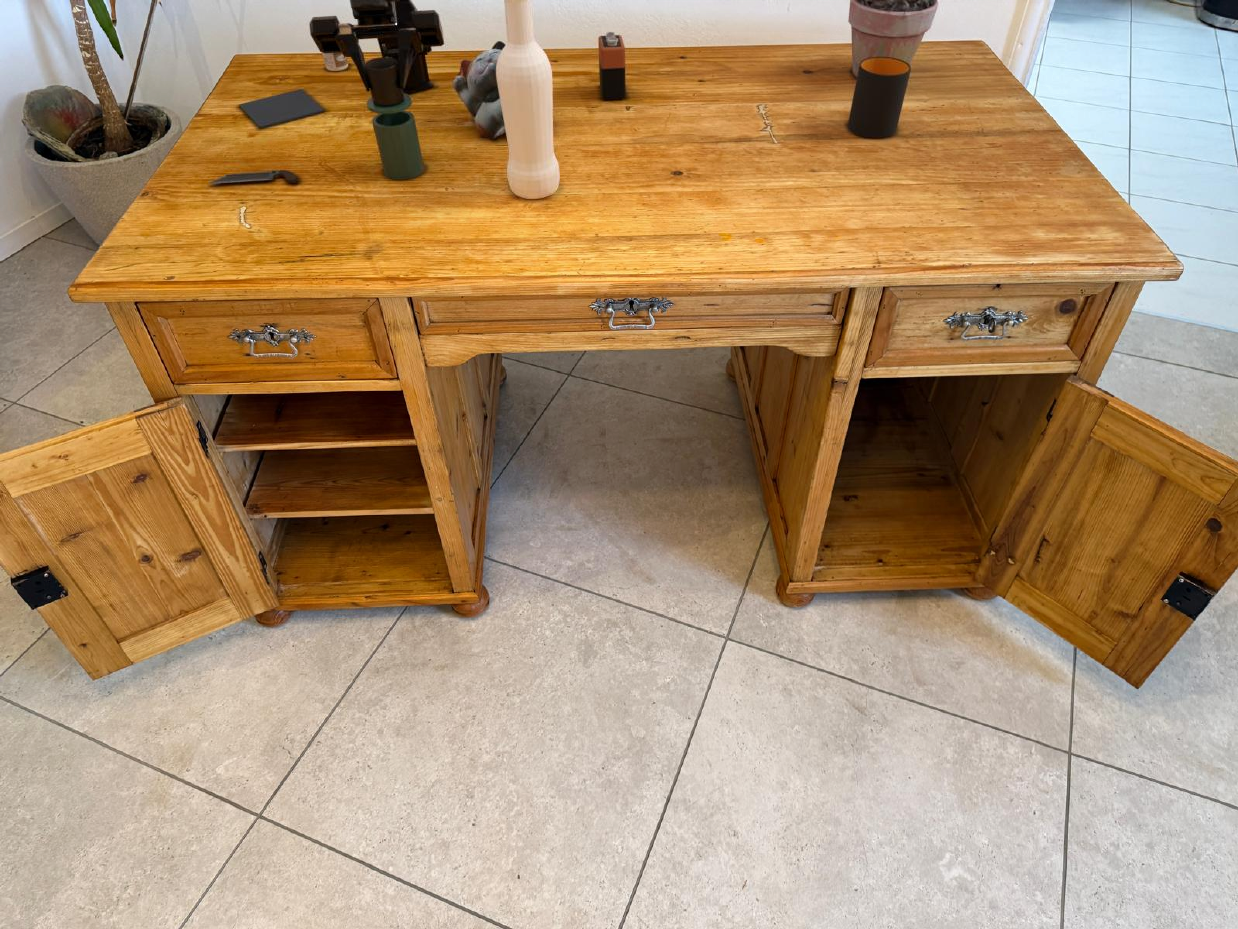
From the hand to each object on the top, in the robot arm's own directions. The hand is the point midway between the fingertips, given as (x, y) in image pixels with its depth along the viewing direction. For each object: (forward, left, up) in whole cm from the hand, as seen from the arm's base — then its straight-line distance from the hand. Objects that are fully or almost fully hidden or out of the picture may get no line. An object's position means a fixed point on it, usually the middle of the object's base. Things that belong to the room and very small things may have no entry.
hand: (384, 88), depth 121 cm
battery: (-46, -6, -14) cm, 48 cm away
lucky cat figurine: (-23, -6, -14) cm, 27 cm away
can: (-1, -1, -13) cm, 14 cm away
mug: (-74, +32, -14) cm, 81 cm away
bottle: (-15, +17, -14) cm, 26 cm away
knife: (+20, -12, -13) cm, 27 cm away
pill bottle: (-9, -50, -14) cm, 53 cm away
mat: (+7, -37, -13) cm, 40 cm away
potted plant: (-92, +17, -14) cm, 94 cm away
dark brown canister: (-1, -1, -3) cm, 3 cm away
